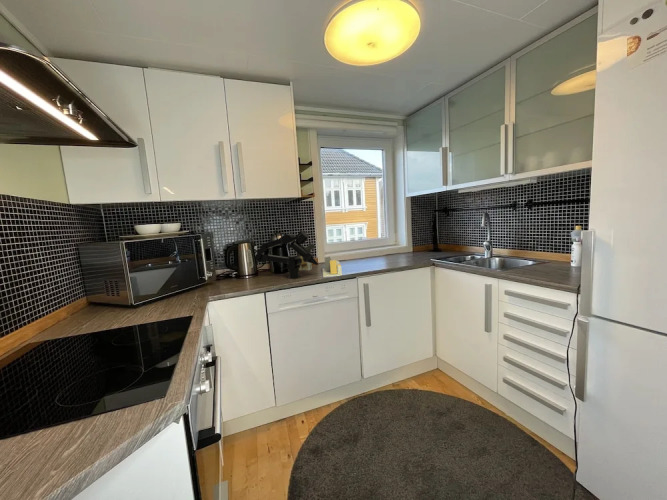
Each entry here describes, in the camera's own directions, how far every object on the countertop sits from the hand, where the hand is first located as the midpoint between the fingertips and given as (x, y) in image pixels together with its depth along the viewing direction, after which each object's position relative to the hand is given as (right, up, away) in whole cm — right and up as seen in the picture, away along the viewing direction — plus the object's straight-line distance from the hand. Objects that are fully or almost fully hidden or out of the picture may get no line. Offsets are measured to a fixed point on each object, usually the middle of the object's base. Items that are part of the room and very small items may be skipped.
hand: (317, 264), depth 177 cm
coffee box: (-11, -6, +30) cm, 33 cm away
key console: (+9, -6, +11) cm, 15 cm away
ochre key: (+10, -6, +1) cm, 12 cm away
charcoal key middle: (+7, -5, +11) cm, 14 cm away
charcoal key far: (+6, -4, +21) cm, 22 cm away
